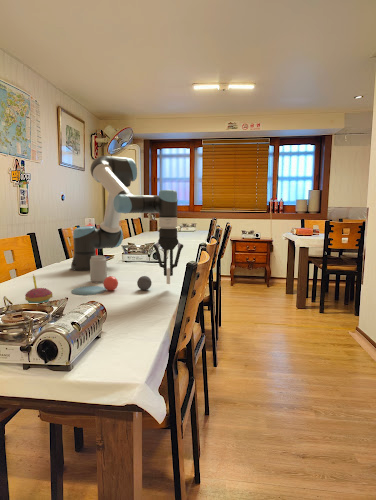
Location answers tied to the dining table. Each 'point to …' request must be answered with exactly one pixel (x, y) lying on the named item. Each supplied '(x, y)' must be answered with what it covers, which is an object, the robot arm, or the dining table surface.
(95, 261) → the can
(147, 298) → the dining table surface
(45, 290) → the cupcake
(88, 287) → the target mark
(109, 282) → the object ball
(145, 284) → the dark grey ball
